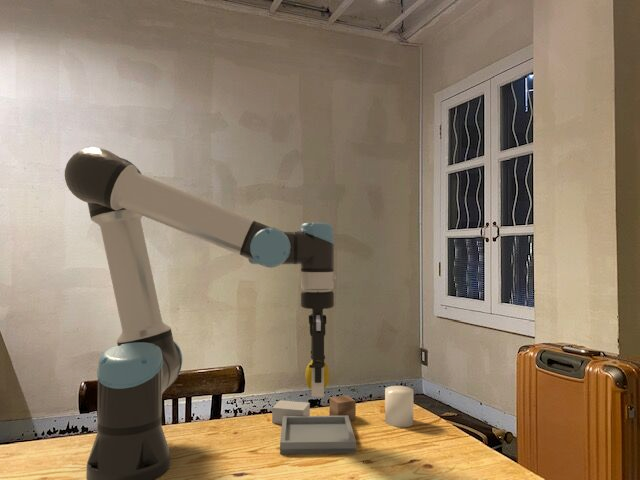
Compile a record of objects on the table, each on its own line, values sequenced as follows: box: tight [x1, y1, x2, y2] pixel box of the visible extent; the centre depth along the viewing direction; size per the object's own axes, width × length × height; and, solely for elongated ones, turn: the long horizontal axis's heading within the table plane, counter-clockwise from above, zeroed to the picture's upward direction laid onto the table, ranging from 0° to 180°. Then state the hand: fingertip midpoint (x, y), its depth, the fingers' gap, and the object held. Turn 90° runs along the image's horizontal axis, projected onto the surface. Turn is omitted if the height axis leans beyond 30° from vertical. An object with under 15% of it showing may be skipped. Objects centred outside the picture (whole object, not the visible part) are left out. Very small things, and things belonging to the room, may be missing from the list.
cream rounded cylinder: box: [384, 385, 414, 428], centre depth 119 cm, size 7×7×8 cm
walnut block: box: [328, 394, 357, 422], centre depth 122 cm, size 5×5×5 cm
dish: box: [279, 415, 357, 455], centre depth 108 cm, size 16×16×2 cm
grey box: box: [271, 399, 311, 425], centre depth 120 cm, size 8×6×4 cm
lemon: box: [304, 361, 331, 391], centre depth 109 cm, size 6×6×8 cm
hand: (317, 392), depth 109 cm, fingers closed on lemon, 5 cm apart
